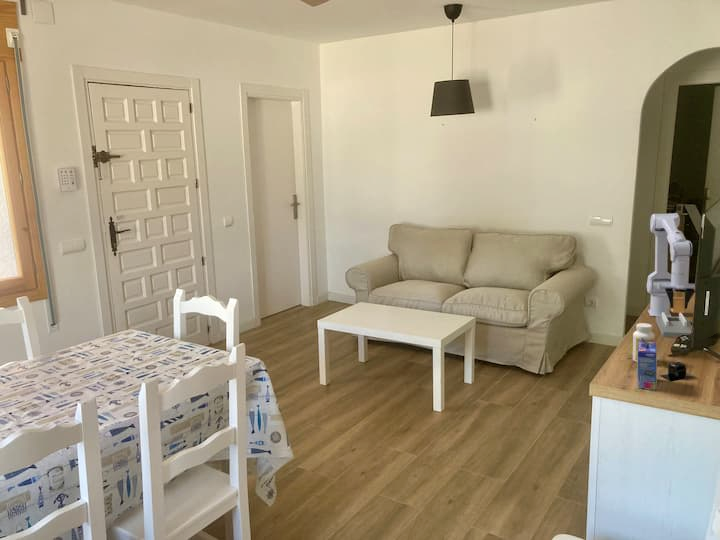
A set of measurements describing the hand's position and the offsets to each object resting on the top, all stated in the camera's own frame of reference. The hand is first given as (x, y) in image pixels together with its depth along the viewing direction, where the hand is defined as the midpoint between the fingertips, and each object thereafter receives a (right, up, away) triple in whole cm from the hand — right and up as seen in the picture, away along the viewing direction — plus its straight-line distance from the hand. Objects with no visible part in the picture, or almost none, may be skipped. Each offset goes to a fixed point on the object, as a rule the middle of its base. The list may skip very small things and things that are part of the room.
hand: (678, 307), depth 218 cm
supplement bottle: (-25, -17, -23) cm, 38 cm away
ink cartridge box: (-33, -21, -41) cm, 56 cm away
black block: (-21, -20, -37) cm, 47 cm away
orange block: (+1, -2, +1) cm, 2 cm away
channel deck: (+3, -9, +8) cm, 12 cm away
